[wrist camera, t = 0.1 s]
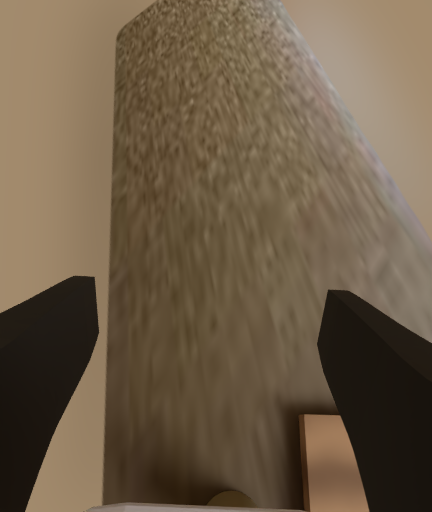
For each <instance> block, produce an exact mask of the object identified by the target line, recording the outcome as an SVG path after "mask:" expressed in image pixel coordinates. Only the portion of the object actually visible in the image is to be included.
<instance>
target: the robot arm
mask: <svg viewBox="0 0 432 512" xmlns="http://www.w3.org/2000/svg"><path fill="white" fill-rule="evenodd" d="M98 334H99V327H98V314H97V302H96V289H95V277H88V276H73V277H70V278H68V279H66V280H64V281H62V282H60V283H58V284H56V285H54V286H53V287H50V288H49V289H47V290H45V291H43V292H41V293H39V294H37V295H36V296H34V297H32V298H30V299H28V300H26V301H24V302H22V303H20V304H18V305H16V306H14V307H12V308H10V309H8V310H6V311H4V312H2V313H0V512H25V510H26V507H27V504H28V501H29V499H30V496H31V493H32V490H33V487H34V484H35V482H36V479H37V476H38V473H39V470H40V468H41V465H42V462H43V460H44V457H45V455H46V452H47V449H48V447H49V444H50V441H51V439H52V436H53V434H54V432H55V429H56V427H57V425H58V423H59V421H60V419H61V417H62V415H63V413H64V411H65V409H66V407H67V405H68V403H69V401H70V399H71V397H72V395H73V393H74V391H75V389H76V387H77V385H78V383H79V381H80V379H81V377H82V375H83V373H84V371H85V369H86V367H87V365H88V363H89V361H90V358H91V356H92V353H93V350H94V347H95V344H96V341H97V337H98ZM317 346H318V350H319V355H320V360H321V364H322V368H323V372H324V375H325V377H326V380H327V383H328V385H329V388H330V391H331V393H332V396H333V398H334V401H335V403H336V406H337V409H338V411H339V414H340V416H341V419H342V421H343V424H344V426H345V429H346V431H347V434H348V437H349V440H350V443H351V445H352V448H353V451H354V455H355V458H356V462H357V466H358V469H359V473H360V477H361V480H362V484H363V488H364V492H365V496H366V500H367V504H368V508H369V512H432V343H430V342H429V341H427V340H425V339H424V338H422V337H420V336H419V335H417V334H415V333H413V332H412V331H410V330H409V329H407V328H405V327H404V326H402V325H401V324H399V323H398V322H396V321H394V320H393V319H391V318H390V317H388V316H387V315H385V314H384V313H382V312H381V311H379V310H378V309H376V308H375V307H373V306H372V305H371V304H369V303H368V302H366V301H365V300H363V299H361V298H360V297H358V296H357V295H355V294H353V293H351V292H350V291H345V290H328V293H327V298H326V303H325V308H324V313H323V317H322V322H321V327H320V332H319V337H318V342H317ZM84 512H307V511H302V510H286V509H264V508H241V507H219V506H196V505H174V504H151V503H129V502H127V503H120V504H112V505H105V506H97V507H92V508H90V509H88V510H86V511H84Z"/></svg>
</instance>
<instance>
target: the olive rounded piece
mask: <svg viewBox="0 0 432 512" xmlns="http://www.w3.org/2000/svg"><path fill="white" fill-rule="evenodd" d="M206 506H219V507H241V508H258V507H257V506H256V504H255V503H254V502H253V501H252V499H251V498H249V497H248V496H246V495H245V494H243V493H241V492H237V491H233V490H232V491H224V492H221V493H219V494H217V495H216V496H214V497H213V498H212V499H211V500H210V501H209V502H208V503H207V505H206Z"/></svg>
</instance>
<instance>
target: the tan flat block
mask: <svg viewBox="0 0 432 512" xmlns="http://www.w3.org/2000/svg"><path fill="white" fill-rule="evenodd" d="M299 432H300V449H301V466H302V483H303V500H304V511H307V512H369V508H368V504H367V500H366V496H365V492H364V488H363V484H362V480H361V477H360V473H359V469H358V466H357V462H356V458H355V455H354V451H353V448H352V445H351V443H350V440H349V437H348V434H347V431H346V429H345V426H344V424H343V421H342V419H341V416H340V415H308V414H304V415H299Z"/></svg>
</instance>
